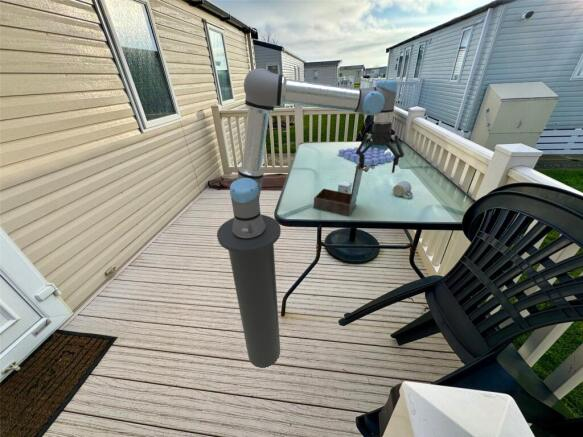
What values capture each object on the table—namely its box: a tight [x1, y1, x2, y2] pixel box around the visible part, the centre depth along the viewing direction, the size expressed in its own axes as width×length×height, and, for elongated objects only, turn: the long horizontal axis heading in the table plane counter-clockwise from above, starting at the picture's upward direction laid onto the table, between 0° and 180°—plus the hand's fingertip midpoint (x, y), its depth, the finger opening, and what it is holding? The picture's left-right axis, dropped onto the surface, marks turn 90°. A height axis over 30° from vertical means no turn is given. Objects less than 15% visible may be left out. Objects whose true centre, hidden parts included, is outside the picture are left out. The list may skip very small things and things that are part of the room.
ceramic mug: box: [392, 180, 414, 200], centre depth 141 cm, size 11×8×8 cm
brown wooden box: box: [313, 188, 358, 217], centre depth 131 cm, size 19×13×6 cm
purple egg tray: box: [338, 146, 395, 167], centre depth 203 cm, size 35×34×5 cm
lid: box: [349, 158, 372, 205], centre depth 119 cm, size 20×13×5 cm
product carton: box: [337, 180, 353, 194], centre depth 143 cm, size 6×6×7 cm
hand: (377, 170), depth 113 cm, fingers open, 13 cm apart
